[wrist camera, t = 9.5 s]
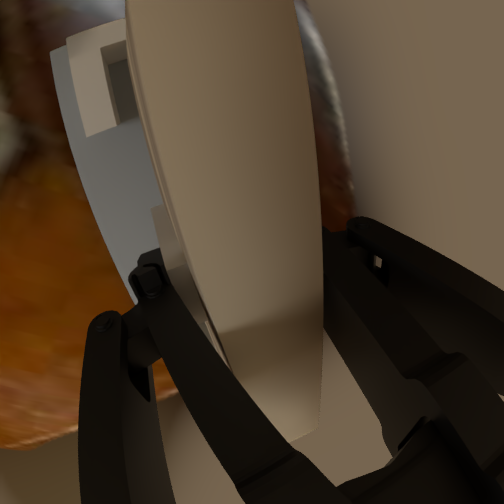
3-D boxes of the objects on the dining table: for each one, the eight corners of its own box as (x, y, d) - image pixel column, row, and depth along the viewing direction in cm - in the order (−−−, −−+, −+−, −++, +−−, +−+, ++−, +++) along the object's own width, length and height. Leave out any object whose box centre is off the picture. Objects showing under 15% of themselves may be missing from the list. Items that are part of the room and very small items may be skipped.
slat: (209, 333, 20) (267, 452, 12) (127, 63, 11) (125, -26, 3) (247, 318, 21) (318, 427, 13) (186, 48, 11) (284, -36, 3)
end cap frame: (158, 341, 25) (171, 392, 20) (53, 54, 11) (25, 34, 7) (275, 295, 28) (308, 335, 23) (227, 10, 14) (265, -19, 10)
